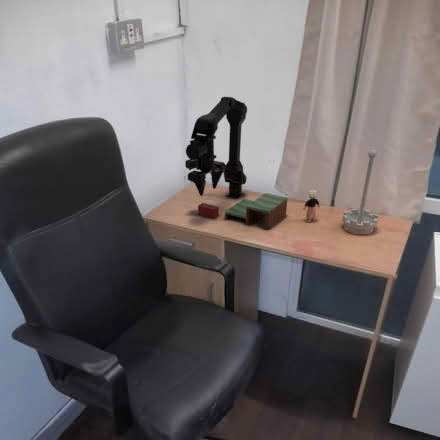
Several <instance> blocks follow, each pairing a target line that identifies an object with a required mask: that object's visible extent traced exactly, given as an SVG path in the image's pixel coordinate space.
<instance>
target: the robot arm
mask: <svg viewBox="0 0 440 440" xmlns="http://www.w3.org/2000/svg"><path fill="white" fill-rule="evenodd" d="M247 113H248V106H247V105H246V104H245V102H243V101H240V100H238V99H236V98H235V97H233V96H222V97H221V98H220V101H219V102H217V104H216V105H215V106H214V107H213V108H212V109H211V110H210V111H209V112H208V113H206V114H203V115H201V116H199V117H198V118H196V120H195V122H194V125H193V129H192V133H191V136H190V139H191V140H189V144H188V145H187V146H186V148H185V154H186V156H187V158H188V159H187V160H185V161H184V162H185V163H184V165H185V168H186V169H188V170H189V171H190V172H189V173H188V174H187V181H190V182H192V183H193V184H194V185H195V187H196V189H197V192H198V194H199V196H201V197H203V195H204V193H205V188H206V183H207V179H206V178H207V175H208V174H210V175H211V186H212V189H213V190H216V189H217V186H218V185H219V182H220V179H221V178H222V175H223V179H224V182H225V183H228V193H226V195H225V196H226V197H230V198H233V199H240V198H241V197H243V196H245V192H243V185H246V183H247V179H248V177H247V176H246V174H245V172H244V165H243V164H242V161H241V143H242V126H243V125H242V124H243V123H244V122H245V120H246V118H247ZM224 117H225V119H226V120H227V122H228V124H229V138H228V139H229V141H228V142H229V143H228V161H227V162H226V163H225V162H223V161H219V160H215V159H217V154H215V139H217V136H216V135H215V134H216V132H217V131H218V129H219V123H220V122H221V121H222V119H223V118H224Z"/></svg>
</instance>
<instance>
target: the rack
mask: <svg viewBox="0 0 440 440" xmlns="http://www.w3.org/2000/svg"><path fill="white" fill-rule="evenodd" d="M287 207H288V197H287V196H282V195H277V194H272V193H269V192H268V193H267V192H265V193H263V194H262V195H260V196H259V197H257V198H256V199H254V200H253V199H248V198H243V199H241V200H240V201H239V202H237V203H235V204H234V205H232V206H230V207H229V208H227V209H226V210H224V220H226V221H228V220H229V219H231V218H232V217H236V218H237V217H238V218H241V219H245V225H246V226H250V225H251V224H252V223H254V222H255V221H257V220H258V219H259V218H260V217H262V216H263V215H265V231H269V230H270V229H272V228H273V227H274V226H275V225H276V224H278V223H279V222H281V221H282V220H284V218H285V217H286V216H287Z"/></svg>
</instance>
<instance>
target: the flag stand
mask: <svg viewBox="0 0 440 440" xmlns="http://www.w3.org/2000/svg"><path fill="white" fill-rule="evenodd" d="M377 155H378V151H377V150H376V149H370V150H369V151H368V153H367V156H368V164H367V170H366V174H365V179H364V185H363V190H362V195H361V201H360V207H359V208H351V211H349V210H345V211H343V214H342V218H341V219H342V222H343V229H344V231H346V232H348V233H350V234H353V235H360V236H361V235H362V236H363V235H369V234H371V233H373V231H374V227H377V225H378V224H379V223H378V222H379V214H377V213H373V214H371V213H372V212H371V210H369V209H365V206H366V202H367V196H368V191H369V185H370V181H371V177H372V176H371V175H372V169H373V165H374V161H375V158H376V157H377Z"/></svg>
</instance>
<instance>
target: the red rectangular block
mask: <svg viewBox="0 0 440 440" xmlns="http://www.w3.org/2000/svg"><path fill="white" fill-rule="evenodd" d="M197 214H198V215H199V216H202V217H207V218H211V219H216V218H218V217H219V216H220V208H219V206H218V205H214V204H209V203H205V202H202V203H199V204H198V205H197Z"/></svg>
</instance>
